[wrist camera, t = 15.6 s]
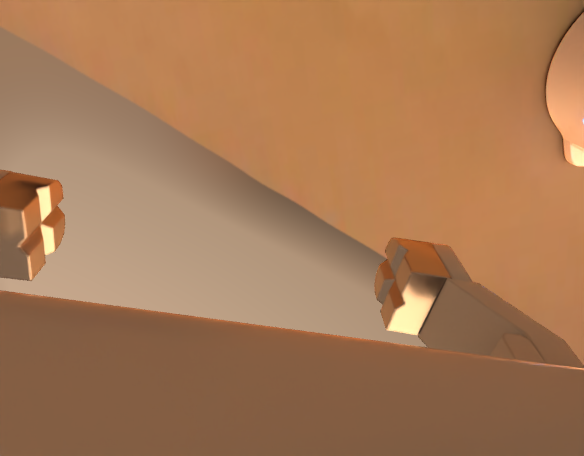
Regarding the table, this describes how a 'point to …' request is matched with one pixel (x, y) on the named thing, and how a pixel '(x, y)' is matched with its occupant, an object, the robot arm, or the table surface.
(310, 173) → the table surface
